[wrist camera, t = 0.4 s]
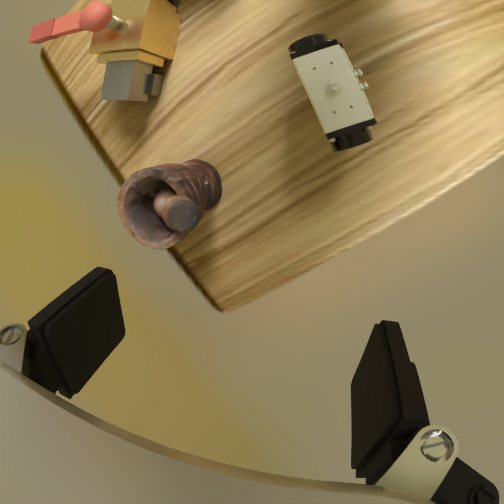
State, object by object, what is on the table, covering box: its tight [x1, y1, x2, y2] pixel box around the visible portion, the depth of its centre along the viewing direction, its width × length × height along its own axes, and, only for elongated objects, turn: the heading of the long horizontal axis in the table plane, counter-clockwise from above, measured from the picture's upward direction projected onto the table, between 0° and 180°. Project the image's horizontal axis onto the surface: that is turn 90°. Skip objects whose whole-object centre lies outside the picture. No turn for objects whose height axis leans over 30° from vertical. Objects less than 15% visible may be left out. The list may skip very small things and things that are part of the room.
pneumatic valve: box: [288, 34, 377, 152], centre depth 27 cm, size 6×12×12 cm, turn 23°
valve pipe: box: [89, 0, 182, 101], centre depth 28 cm, size 20×8×12 cm, turn 170°
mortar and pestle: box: [118, 159, 222, 249], centre depth 31 cm, size 12×9×20 cm
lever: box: [29, 2, 113, 44], centre depth 22 cm, size 14×4×2 cm, turn 80°
